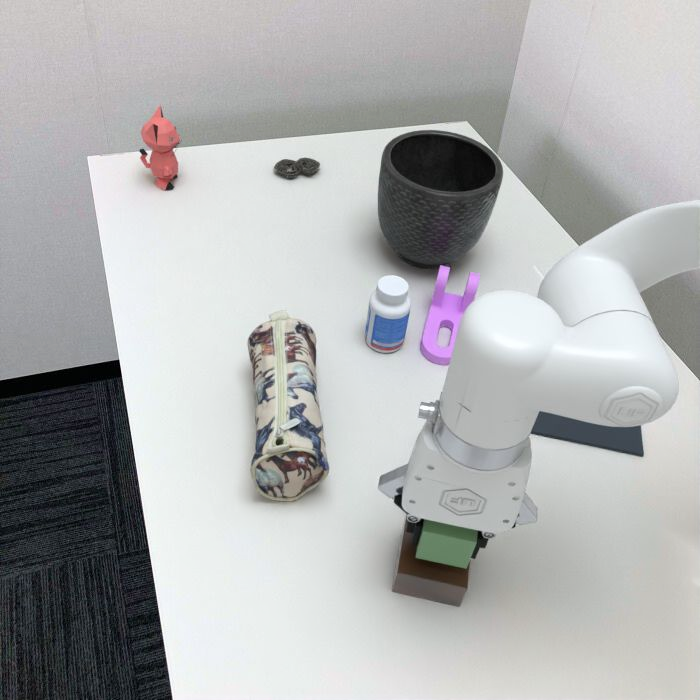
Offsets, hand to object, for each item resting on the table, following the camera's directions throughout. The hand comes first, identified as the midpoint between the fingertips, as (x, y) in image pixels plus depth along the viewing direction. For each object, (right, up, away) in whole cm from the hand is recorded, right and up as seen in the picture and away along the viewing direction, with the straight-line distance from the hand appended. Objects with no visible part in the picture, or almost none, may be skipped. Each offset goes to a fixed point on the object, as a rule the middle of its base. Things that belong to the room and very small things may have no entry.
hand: (444, 538), depth 73 cm
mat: (+19, +14, +24) cm, 34 cm away
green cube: (0, 0, 0) cm, 0 cm away
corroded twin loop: (-18, +49, +54) cm, 75 cm away
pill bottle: (-5, +20, +27) cm, 34 cm away
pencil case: (-17, +9, +16) cm, 25 cm away
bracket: (+4, +21, +30) cm, 37 cm away
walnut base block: (-1, -4, +4) cm, 6 cm away
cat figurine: (-40, +46, +48) cm, 78 cm away
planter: (+2, +34, +42) cm, 54 cm away
